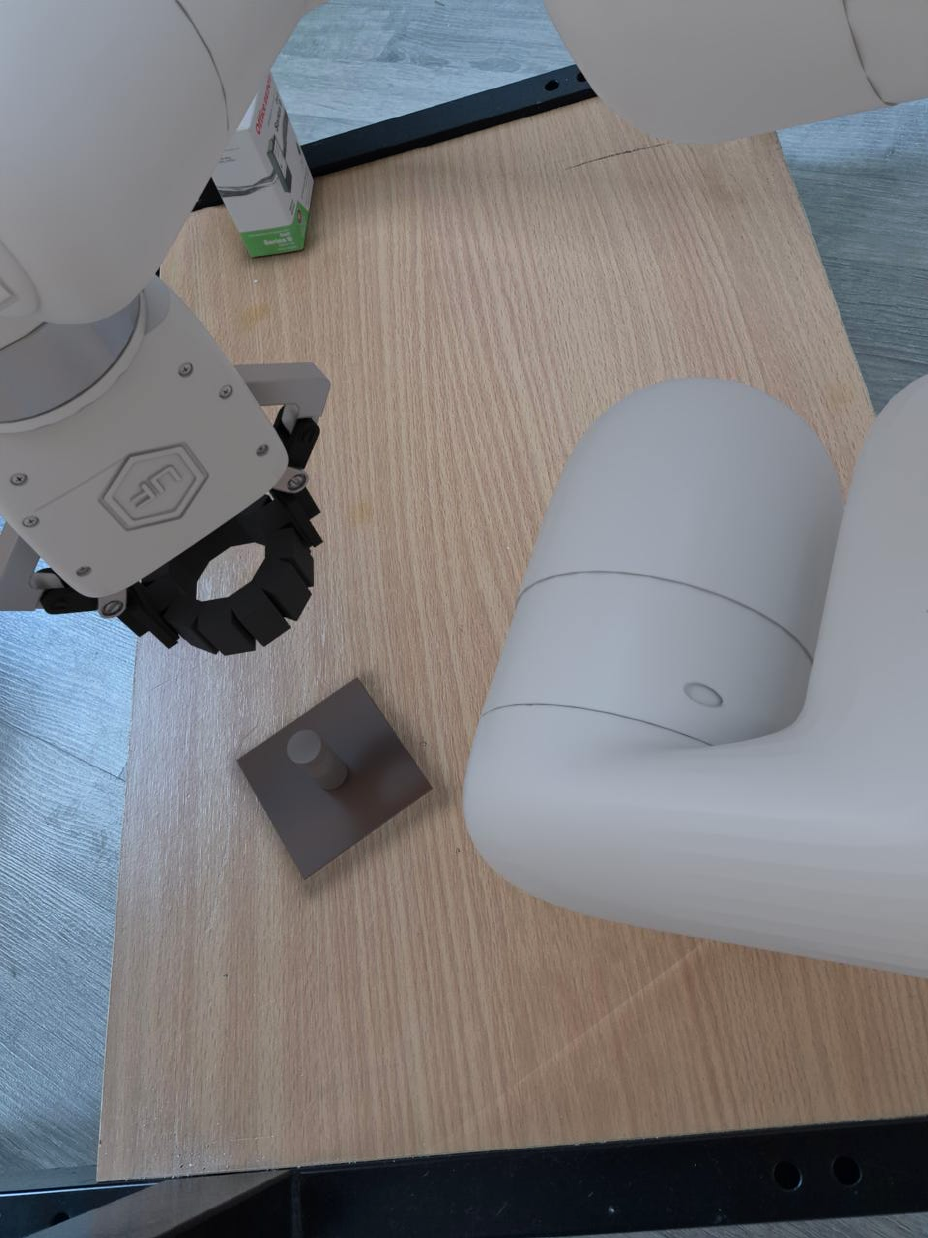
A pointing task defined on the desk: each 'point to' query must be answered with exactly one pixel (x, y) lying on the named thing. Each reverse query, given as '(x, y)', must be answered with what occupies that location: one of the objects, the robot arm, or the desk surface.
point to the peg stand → (332, 777)
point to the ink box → (266, 177)
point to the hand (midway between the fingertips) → (232, 573)
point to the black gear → (253, 605)
